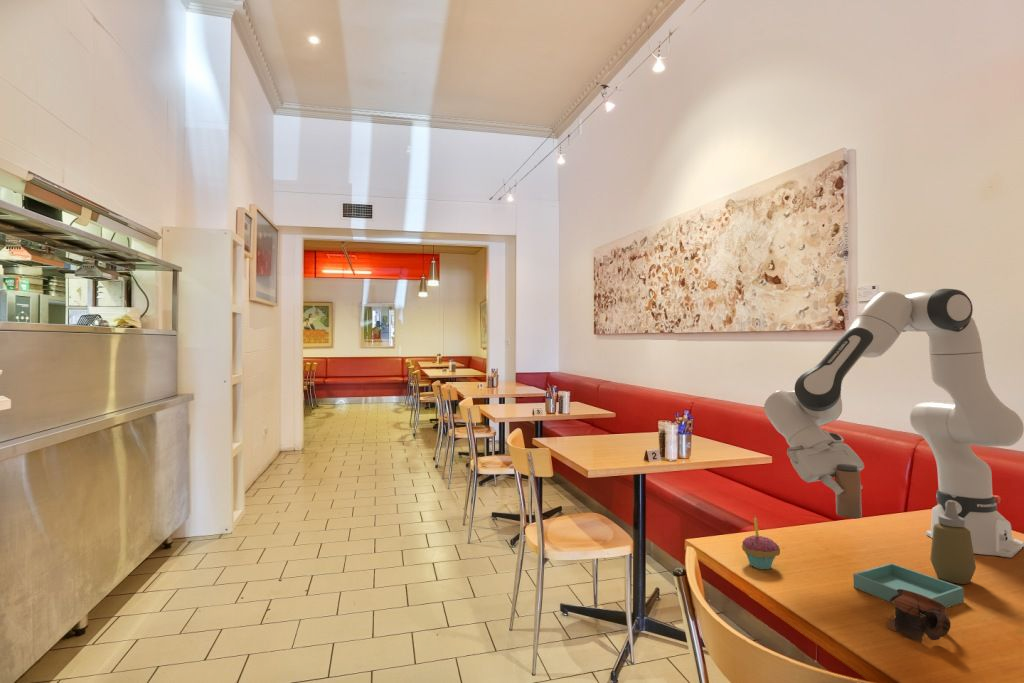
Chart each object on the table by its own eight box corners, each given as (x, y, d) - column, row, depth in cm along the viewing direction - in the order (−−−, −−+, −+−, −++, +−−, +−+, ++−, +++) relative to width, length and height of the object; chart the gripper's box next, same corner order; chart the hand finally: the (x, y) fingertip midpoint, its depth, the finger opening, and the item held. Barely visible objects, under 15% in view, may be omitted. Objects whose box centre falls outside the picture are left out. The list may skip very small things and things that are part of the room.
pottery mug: (871, 623, 100) (881, 582, 102) (917, 646, 99) (926, 604, 101) (922, 640, 88) (932, 593, 90) (975, 666, 87) (983, 618, 90)
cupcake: (734, 560, 129) (733, 513, 129) (763, 557, 131) (762, 511, 131) (757, 574, 121) (756, 524, 121) (788, 571, 122) (787, 521, 123)
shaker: (845, 510, 126) (843, 462, 127) (866, 516, 122) (864, 466, 122) (831, 513, 124) (829, 464, 125) (852, 519, 119) (851, 469, 120)
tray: (891, 575, 119) (891, 563, 120) (963, 602, 107) (963, 587, 107) (853, 587, 114) (853, 573, 114) (925, 616, 101) (924, 601, 101)
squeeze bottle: (985, 588, 113) (983, 507, 113) (944, 585, 114) (941, 505, 115) (961, 573, 121) (959, 497, 121) (922, 570, 122) (920, 495, 123)
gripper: (791, 440, 126) (831, 489, 116) (844, 434, 134) (885, 479, 125) (776, 455, 130) (813, 504, 120) (828, 448, 138) (867, 493, 129)
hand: (850, 491), depth 122 cm, fingers closed on shaker, 5 cm apart
